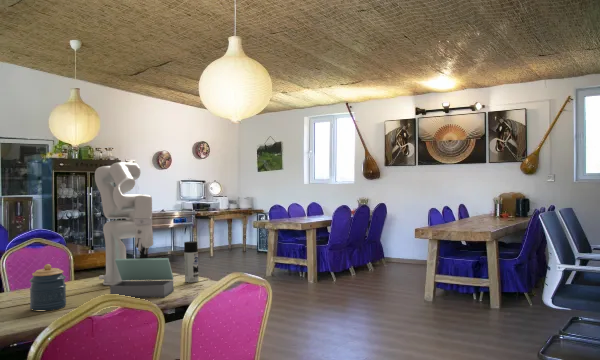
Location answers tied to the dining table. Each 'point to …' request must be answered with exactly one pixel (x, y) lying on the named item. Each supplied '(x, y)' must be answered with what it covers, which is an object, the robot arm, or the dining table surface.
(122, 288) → the gray rectangular tray
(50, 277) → the canister
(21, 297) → the dining table surface
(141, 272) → the cover
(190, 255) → the spray can
